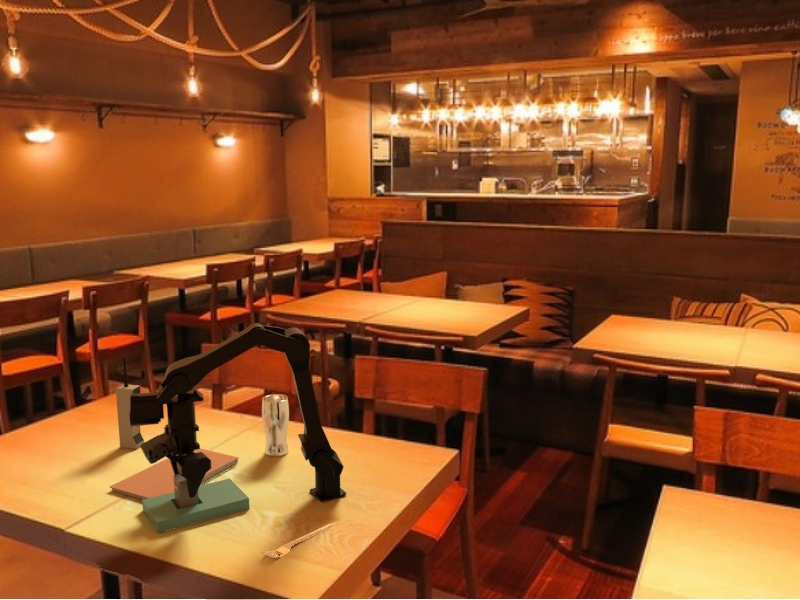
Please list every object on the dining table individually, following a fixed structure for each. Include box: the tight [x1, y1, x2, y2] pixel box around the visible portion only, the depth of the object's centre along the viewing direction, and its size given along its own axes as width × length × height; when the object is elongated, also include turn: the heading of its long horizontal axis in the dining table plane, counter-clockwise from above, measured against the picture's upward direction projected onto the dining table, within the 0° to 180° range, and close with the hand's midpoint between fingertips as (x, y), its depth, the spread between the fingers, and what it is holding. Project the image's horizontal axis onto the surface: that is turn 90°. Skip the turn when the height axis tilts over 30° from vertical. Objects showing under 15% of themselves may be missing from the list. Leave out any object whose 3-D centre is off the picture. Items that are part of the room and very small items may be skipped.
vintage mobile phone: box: [115, 356, 145, 450], centre depth 192 cm, size 4×5×25 cm
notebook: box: [109, 447, 240, 500], centre depth 176 cm, size 27×17×2 cm, turn 153°
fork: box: [260, 523, 331, 559], centre depth 146 cm, size 3×20×2 cm, turn 140°
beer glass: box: [261, 393, 290, 458], centre depth 189 cm, size 7×7×15 cm
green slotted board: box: [141, 477, 250, 534], centre depth 159 cm, size 12×20×2 cm, turn 123°
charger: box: [174, 474, 199, 509], centre depth 157 cm, size 4×4×8 cm
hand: (185, 489), depth 157 cm, fingers open, 9 cm apart
